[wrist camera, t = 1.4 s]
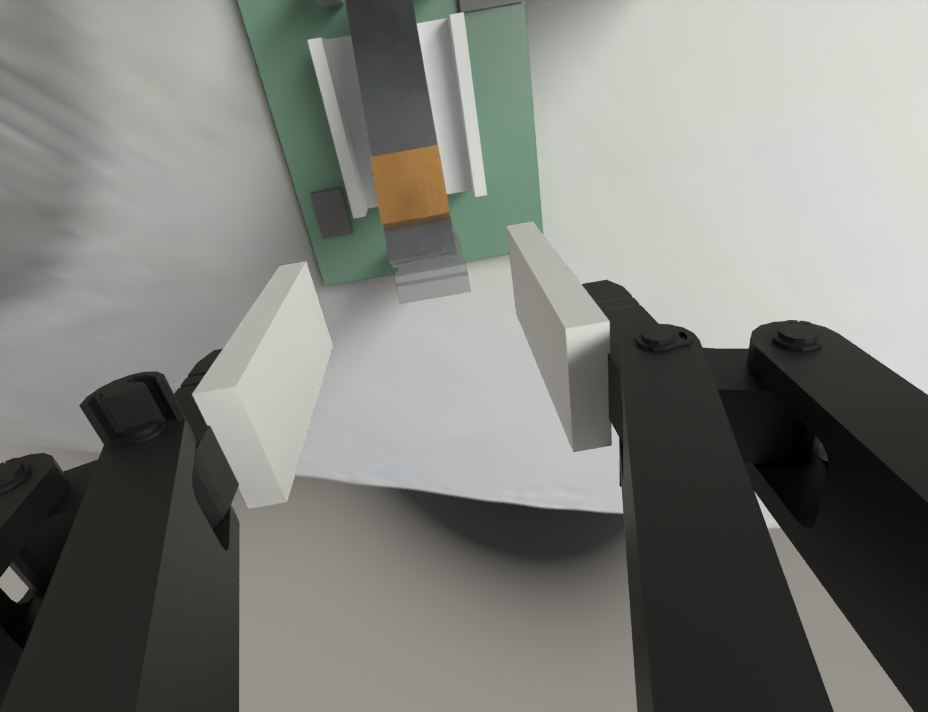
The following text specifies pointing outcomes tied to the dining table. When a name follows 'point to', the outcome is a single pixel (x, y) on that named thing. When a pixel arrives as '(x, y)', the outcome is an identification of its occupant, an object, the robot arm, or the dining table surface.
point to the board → (319, 148)
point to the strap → (401, 132)
